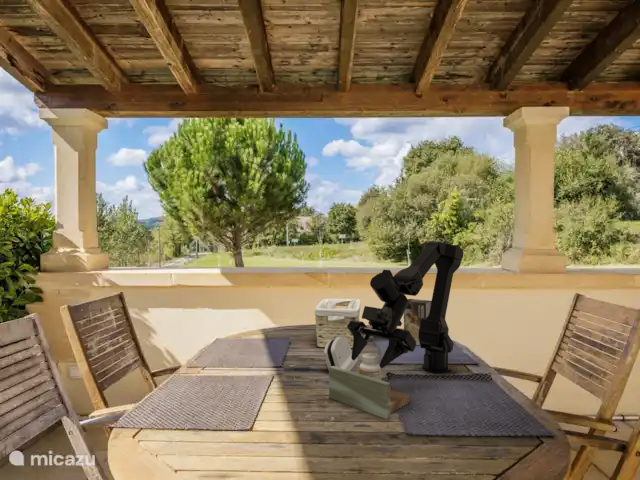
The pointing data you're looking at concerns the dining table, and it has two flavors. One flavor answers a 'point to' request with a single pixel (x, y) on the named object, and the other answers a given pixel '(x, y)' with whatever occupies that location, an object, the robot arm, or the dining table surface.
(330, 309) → the storage basket
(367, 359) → the supplement bottle
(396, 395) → the wall board ledge
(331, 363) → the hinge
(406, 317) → the coffee box
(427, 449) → the dining table surface
